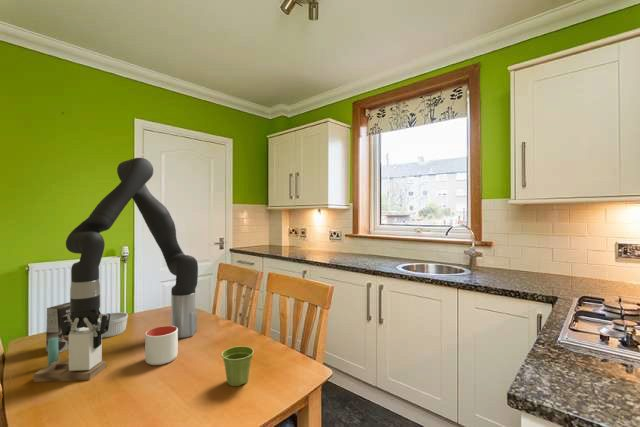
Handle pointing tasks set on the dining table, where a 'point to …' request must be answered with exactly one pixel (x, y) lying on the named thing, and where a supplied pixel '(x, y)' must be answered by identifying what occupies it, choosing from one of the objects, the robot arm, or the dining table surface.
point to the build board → (52, 372)
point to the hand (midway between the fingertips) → (85, 347)
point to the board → (83, 373)
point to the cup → (161, 345)
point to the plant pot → (237, 364)
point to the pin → (52, 350)
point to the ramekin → (115, 324)
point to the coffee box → (57, 325)
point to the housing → (83, 350)
